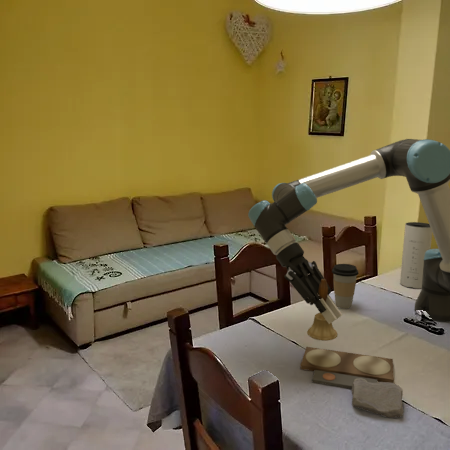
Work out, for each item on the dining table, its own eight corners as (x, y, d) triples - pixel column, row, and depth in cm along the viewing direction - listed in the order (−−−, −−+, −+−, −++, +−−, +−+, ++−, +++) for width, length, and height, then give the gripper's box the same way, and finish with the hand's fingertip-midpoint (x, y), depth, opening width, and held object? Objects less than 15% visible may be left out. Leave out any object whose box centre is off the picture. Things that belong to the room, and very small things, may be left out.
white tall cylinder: (430, 284, 186) (436, 222, 180) (422, 291, 178) (428, 227, 173) (405, 278, 193) (409, 219, 187) (396, 285, 185) (400, 223, 180)
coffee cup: (354, 301, 169) (356, 263, 166) (358, 311, 160) (361, 271, 157) (328, 300, 170) (330, 262, 167) (332, 310, 161) (333, 270, 158)
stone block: (404, 427, 102) (401, 395, 111) (406, 411, 100) (402, 380, 109) (350, 420, 105) (351, 389, 114) (350, 404, 103) (351, 374, 112)
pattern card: (377, 382, 116) (377, 378, 116) (377, 393, 111) (377, 389, 111) (314, 372, 121) (314, 369, 121) (312, 382, 116) (312, 378, 116)
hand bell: (314, 342, 120) (316, 285, 116) (302, 328, 128) (304, 275, 124) (342, 339, 121) (345, 283, 118) (329, 326, 129) (332, 273, 126)
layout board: (392, 362, 125) (392, 357, 125) (393, 383, 115) (393, 378, 115) (306, 350, 133) (306, 345, 133) (300, 369, 123) (300, 364, 123)
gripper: (293, 250, 136) (340, 317, 128) (261, 262, 125) (311, 335, 117) (308, 236, 131) (358, 304, 124) (277, 247, 120) (330, 322, 113)
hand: (335, 319), depth 120 cm, fingers closed on hand bell, 2 cm apart
